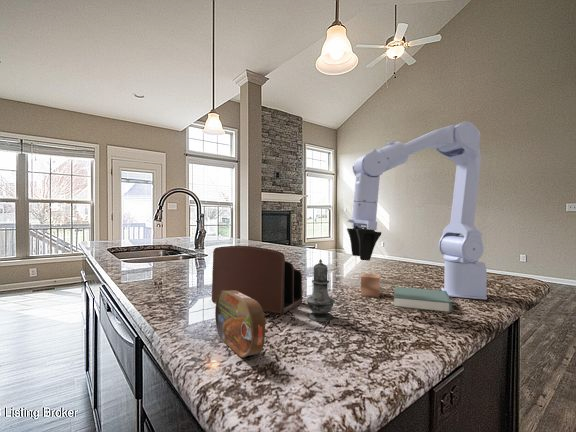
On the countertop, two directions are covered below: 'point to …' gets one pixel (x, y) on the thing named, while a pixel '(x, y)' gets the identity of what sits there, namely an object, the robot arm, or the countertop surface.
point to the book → (422, 299)
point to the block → (370, 285)
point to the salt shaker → (320, 295)
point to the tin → (240, 322)
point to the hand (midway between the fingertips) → (360, 257)
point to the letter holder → (257, 276)
